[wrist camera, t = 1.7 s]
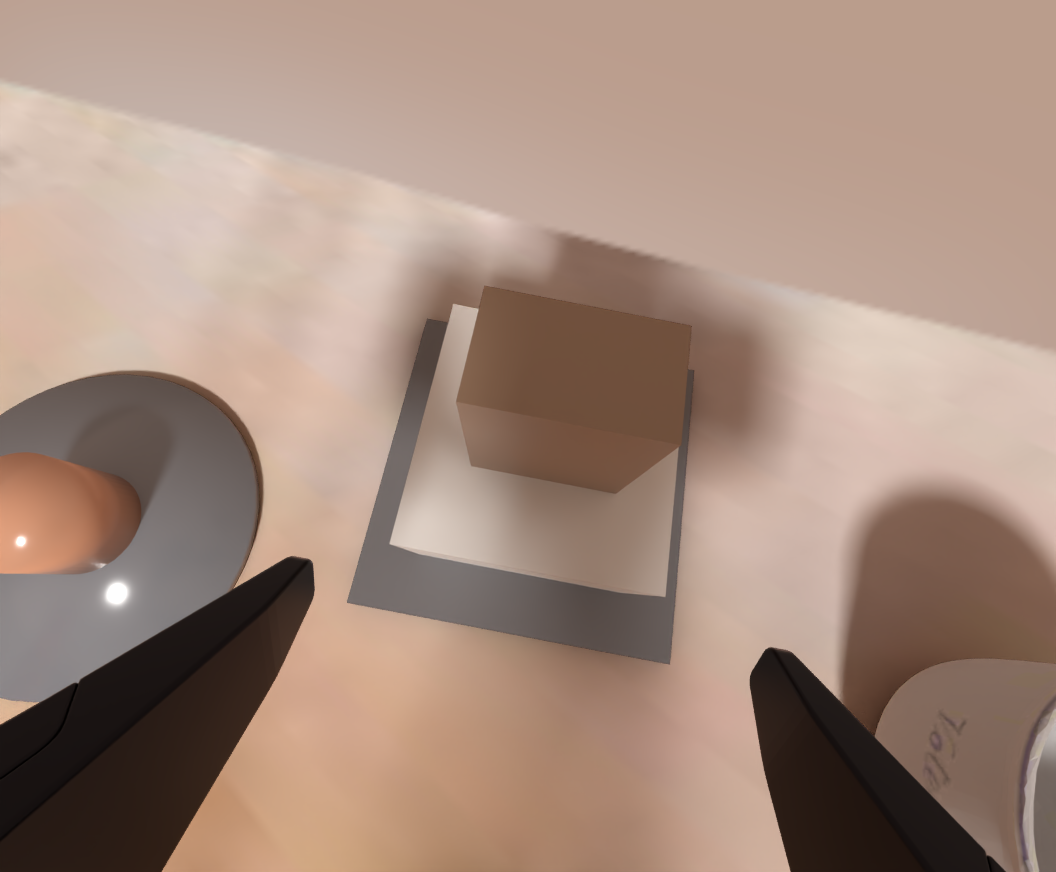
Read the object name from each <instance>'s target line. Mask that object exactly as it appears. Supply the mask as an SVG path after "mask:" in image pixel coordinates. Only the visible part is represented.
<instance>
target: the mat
mask: <svg viewBox="0 0 1056 872" xmlns="http://www.w3.org/2000/svg"><path fill="white" fill-rule="evenodd" d="M447 326H448V323H447V322H442V321H436V320H431V319H427V321H426V325H425V328H424V332H423V335H422V339H421V342H420V346H419V349H418V353H417V356H416V360H415V363H414V367H413V371H412V374H411V378H410V381H409V385H408V388H407V392H406V395H405V399H404V402H403V406H402V409H401V413H400V417H399V420H398V424H397V427H396V431H395V434H394V438H393V441H392V445H391V448H390V452H389V455H388V459H387V462H386V466H385V470H384V473H383V477H382V480H381V484H380V487H379V491H378V494H377V498H376V501H375V505H374V508H373V512H372V515H371V519H370V523H369V526H368V530H367V533H366V537H365V540H364V544H363V547H362V551H361V554H360V558H359V561H358V565H357V569H356V572H355V576H354V579H353V583H352V586H351V590H350V593H349V597H348V600H347V603H351V604H356V605H361V606H367V607H372V608H377V609H382V610H388V611H393V612H398V613H403V614H408V615H414V616H419V617H424V618H429V619H435V620H440V621H445V622H450V623H455V624H461V625H466V626H471V627H476V628H482V629H487V630H492V631H497V632H503V633H508V634H513V635H518V636H523V637H529V638H534V639H539V640H544V641H550V642H555V643H560V644H565V645H570V646H576V647H581V648H586V649H591V650H597V651H602V652H607V653H612V654H618V655H623V656H628V657H633V658H638V659H644V660H649V661H654V662H659V663H665V664H670V658H671V646H672V633H673V621H674V609H675V597H676V585H677V573H678V561H679V548H680V536H681V524H682V512H683V500H684V488H685V476H686V464H687V451H688V439H689V427H690V415H691V403H692V391H693V379H694V370H689V369H688V373H687V384H686V396H685V407H684V419H683V430H682V442H681V446H680V447H679V449H678V461H677V472H676V483H675V494H674V506H673V517H672V528H671V540H670V551H669V562H668V573H667V585H666V596H665V597H661V596H650V595H639V594H629V593H619V592H613V591H608V590H603V589H598V588H593V587H587V586H582V585H577V584H572V583H566V582H561V581H556V580H551V579H546V578H540V577H535V576H530V575H525V574H520V573H514V572H509V571H504V570H499V569H494V568H488V567H483V566H478V565H473V564H467V563H462V562H457V561H452V560H447V559H441V558H436V557H431V556H426V555H421V554H417V553H414V552H411V551H408V550H405V549H403V548H400V547H397V546H394V545H391V544H389V543H390V540H391V536H392V532H393V528H394V524H395V521H396V517H397V513H398V509H399V506H400V502H401V498H402V494H403V491H404V487H405V483H406V479H407V476H408V472H409V468H410V464H411V461H412V457H413V453H414V449H415V446H416V442H417V438H418V434H419V431H420V427H421V423H422V419H423V416H424V412H425V408H426V404H427V401H428V397H429V393H430V389H431V386H432V382H433V378H434V374H435V371H436V367H437V363H438V359H439V356H440V352H441V348H442V344H443V341H444V337H445V333H446V329H447Z"/></svg>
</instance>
